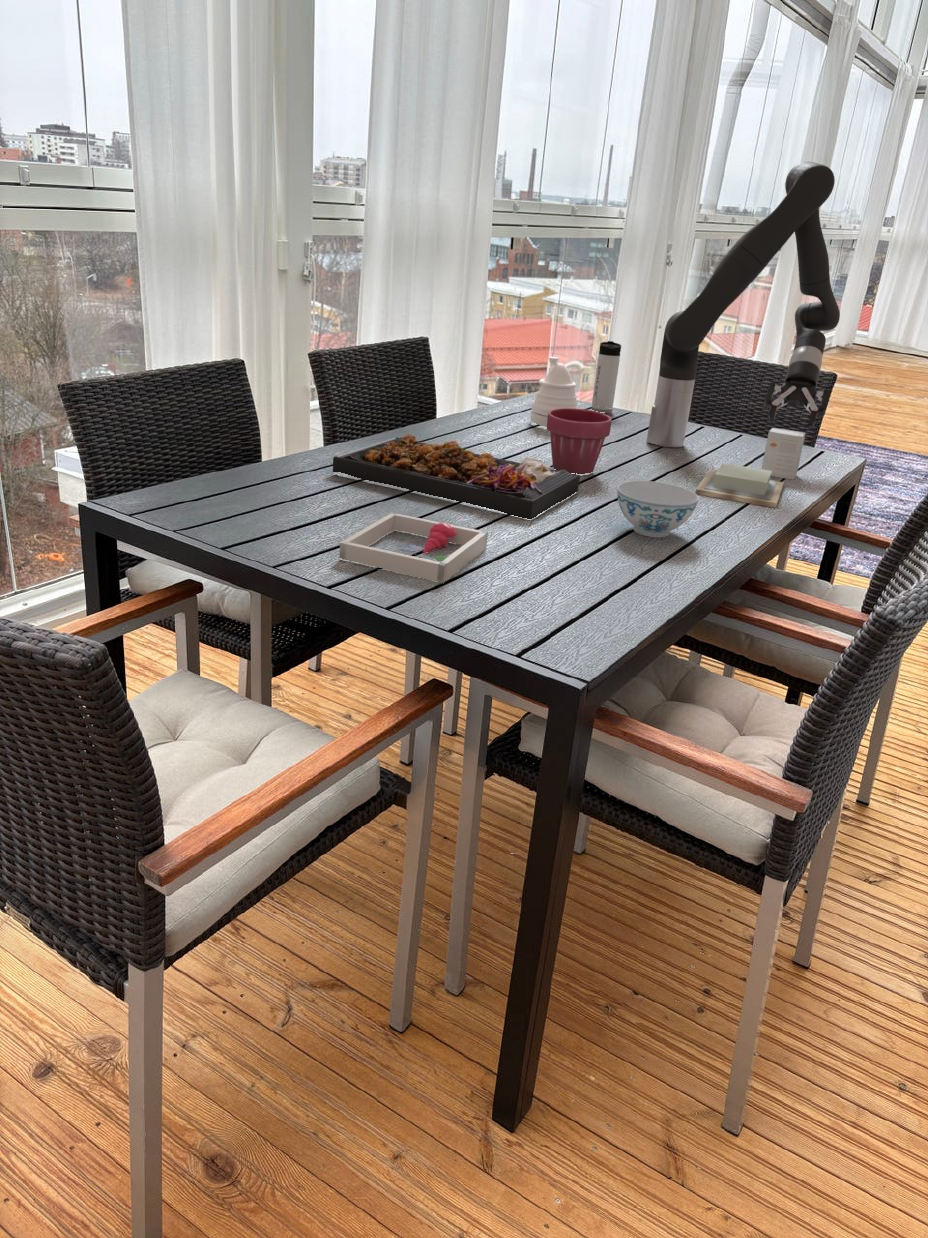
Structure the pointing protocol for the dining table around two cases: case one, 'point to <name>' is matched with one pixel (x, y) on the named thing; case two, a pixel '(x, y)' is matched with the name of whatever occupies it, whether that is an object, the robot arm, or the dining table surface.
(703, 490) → the board
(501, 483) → the food platter
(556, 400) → the honey pot
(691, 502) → the chinaware
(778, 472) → the small box
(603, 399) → the travel mug
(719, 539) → the dining table surface
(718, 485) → the plinth
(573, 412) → the plant pot
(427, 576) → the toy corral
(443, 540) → the toy pieces
